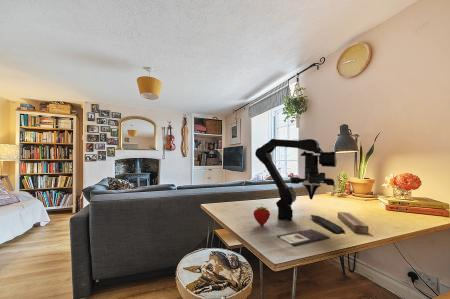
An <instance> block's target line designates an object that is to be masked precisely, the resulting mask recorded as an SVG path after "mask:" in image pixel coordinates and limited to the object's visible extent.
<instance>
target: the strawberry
mask: <svg viewBox="0 0 450 299" xmlns="http://www.w3.org/2000/svg"><path fill="white" fill-rule="evenodd" d="M261 205H262V206H260V207H256V208H255V210H253V218H254V219H255V221H256V223H257V224H258V225H259V226H260V227H264V225H265V224H266V223H267V222H268V221H269V219H270V215H271V213H270V211H269V210H268V207H264V205H263V203H261Z"/></svg>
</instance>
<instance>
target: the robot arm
mask: <svg viewBox="0 0 450 299" xmlns="http://www.w3.org/2000/svg"><path fill="white" fill-rule="evenodd" d="M277 147H281V148H282V147H283V148H293V149H299V150H303V152H302V153H301V154H300V155H299V156H301V157H304V178H302V177H301V178H300V177H299V176H290V177H289V183H290V184H293V185H294V184H295V185H296V184H297V185H298V184H300V183H301V185H302V186H304V187H305V190H306V192H307V194H308V197H309V200H313V199H314V196H315V194H316V191H317V189H318V188H319V187H321V186H322V185H321V184H324V185H327V186H335V183H336V182H335V179H334V178H330V177H326V172H319V165H321V167H325V168H326V167H327V168H330V167H331V168H336V167H337V161H338V160H337V159H338V158H337V155H336V151H323V150H322V148H320V143H319V142H318V141H317V140H316V139H313V138H306V139H299V140H295V139H294V140H293V139H292V140H290V139H276V138H271V139H270V140H269V141H268V142H266V143H264V144H263V145H261V147H258V148H256V149H255V153H254V154H255V157H256V158H257V159H258V160H259V161H260V162H261V164H263V166H265V168H266V171H267V172H268V173H269V175H270V177H271V179H272V180H273V182H274V183H275V186H276V187H277V190H278V195H279V198H280V199H278V200H277V201H276V203H275V204H276V207H277V220H280V221H293V216H294V212H293V209H292V205H293V203H295V202H296V200H297V195H296V194H297V192H296V191H295V189H294V188H293V186H288V184H286V182H285V180H284V179H283V177H282V175H281V174H280V172H279V170H278V169H277V167H276V165H275V163H274V162H273V159H272V158H273V157H272V154H271V153H273V151H274V150H275V149H276V148H277ZM314 154H315V155H314ZM316 154H317V155H316Z"/></svg>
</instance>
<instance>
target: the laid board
mask: <svg viewBox="0 0 450 299" xmlns="http://www.w3.org/2000/svg"><path fill="white" fill-rule="evenodd" d="M337 218H338V220H340V222H341V223H342V224H344V225H345V226H346V227H347V228H348V229H349V230H351V231H352V232H353V233H359V234H369V225H368V224H366V223H365V222H364V221H362V220H360V219H359V218H358V217H356V216H355V215H353V214H352V213H350V212H345V211H344V212H342V211H341V212H340V211H338V212H337Z"/></svg>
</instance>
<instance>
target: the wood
mask: <svg viewBox="0 0 450 299" xmlns="http://www.w3.org/2000/svg"><path fill="white" fill-rule="evenodd" d="M310 217H311V218H312V219H313V221H315V222H316V223H317V225H318V224H319V225H321V226H322V227H324V228H325V229H327V230H328V231H330V232H332V233H333V234H335V235H342V234H344V235H346V232H345V229H344V228H343V227H342V226H340V225H338V224H336V223H335V222H333V221H330V220H329V219H326V218H325V217H322V216H321V215H315V214H311V215H310Z"/></svg>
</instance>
